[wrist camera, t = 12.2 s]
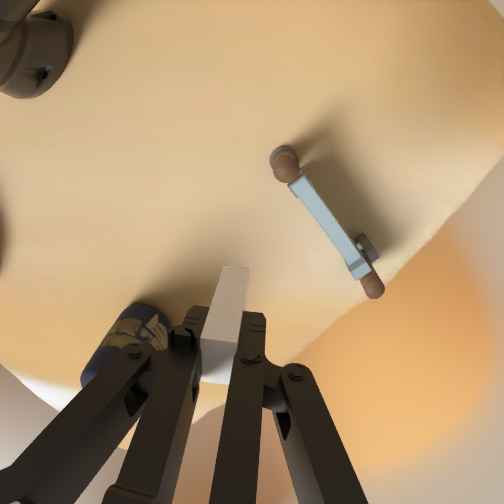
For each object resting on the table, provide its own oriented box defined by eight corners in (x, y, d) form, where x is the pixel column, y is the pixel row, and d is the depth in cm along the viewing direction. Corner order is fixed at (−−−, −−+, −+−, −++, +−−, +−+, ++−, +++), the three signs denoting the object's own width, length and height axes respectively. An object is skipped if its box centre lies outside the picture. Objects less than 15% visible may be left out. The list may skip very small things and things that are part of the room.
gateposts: (264, 158, 37) (261, 167, 29) (291, 136, 35) (296, 140, 28) (355, 275, 42) (369, 306, 35) (380, 258, 41) (398, 287, 34)
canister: (185, 335, 49) (154, 421, 33) (146, 351, 51) (110, 428, 35) (150, 291, 46) (100, 372, 29) (112, 311, 48) (62, 384, 32)
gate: (285, 177, 37) (288, 190, 30) (299, 166, 37) (305, 177, 30) (343, 254, 41) (355, 281, 34) (356, 245, 40) (371, 270, 33)
